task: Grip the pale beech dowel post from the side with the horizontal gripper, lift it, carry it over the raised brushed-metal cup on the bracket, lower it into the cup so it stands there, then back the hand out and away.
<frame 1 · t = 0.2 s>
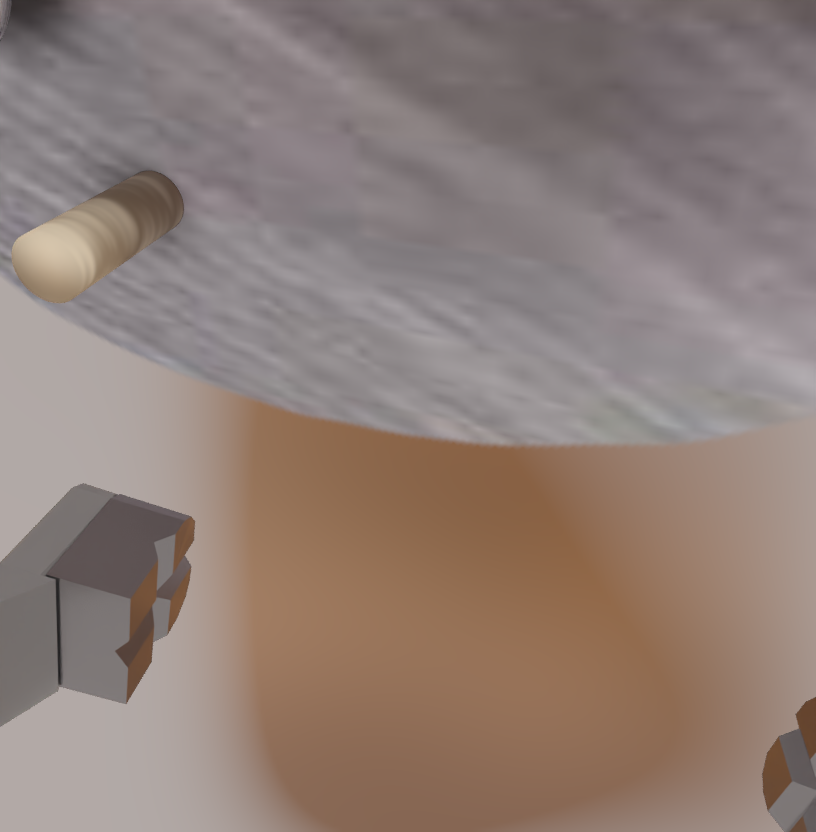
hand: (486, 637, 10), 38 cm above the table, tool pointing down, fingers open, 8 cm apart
rail post: (155, 201, 50), on the table
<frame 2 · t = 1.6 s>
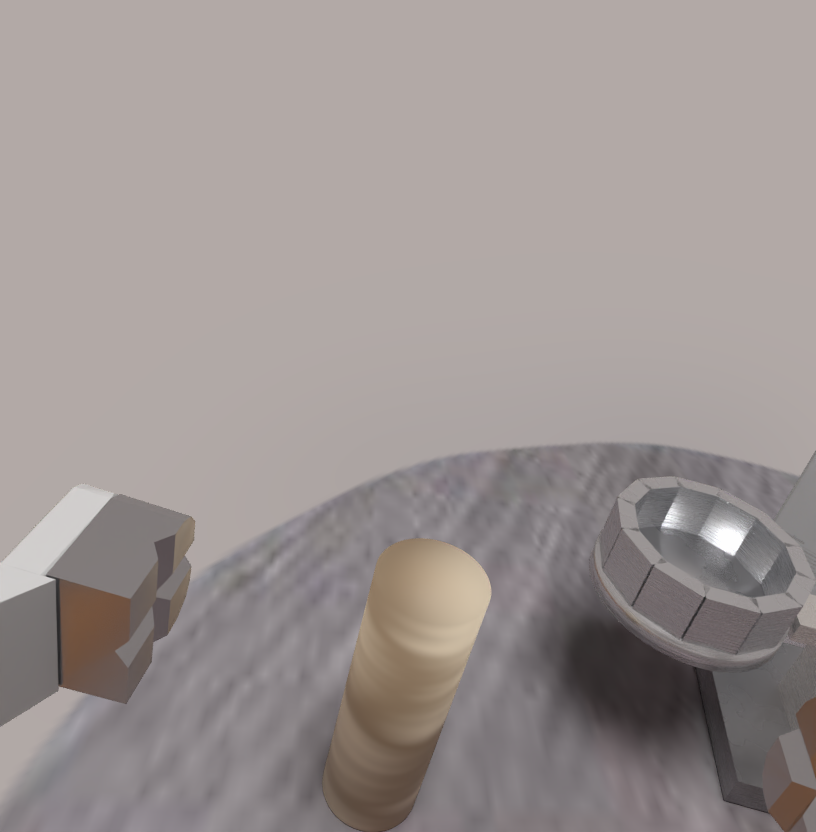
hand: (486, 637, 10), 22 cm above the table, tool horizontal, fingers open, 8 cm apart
skincare box: (776, 588, 49), on the table
cup bracket: (629, 689, 39), on the table
rail post: (369, 784, 32), on the table
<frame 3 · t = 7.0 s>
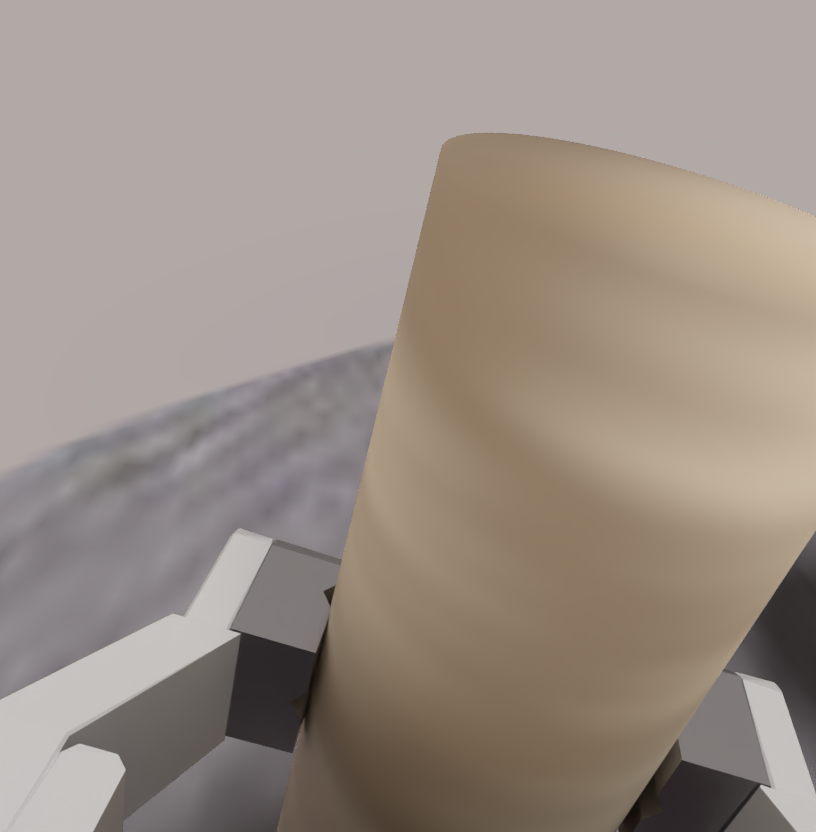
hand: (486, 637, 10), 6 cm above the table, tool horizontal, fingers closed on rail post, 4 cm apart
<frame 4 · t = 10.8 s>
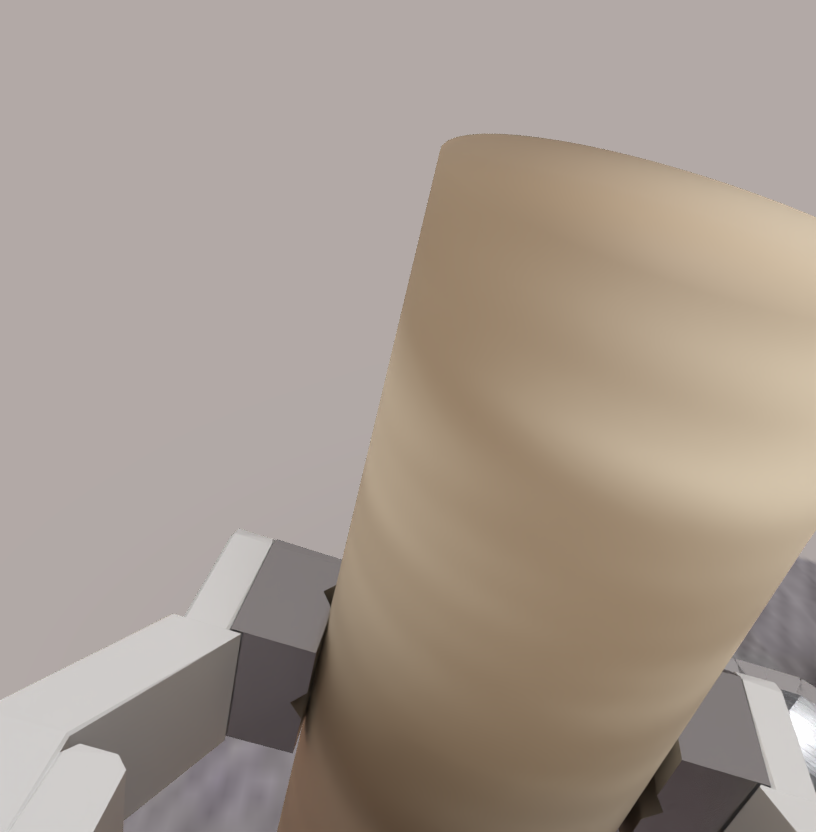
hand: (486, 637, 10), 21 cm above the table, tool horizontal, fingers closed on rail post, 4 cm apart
when the fingers open (15 cm above the table, at t = 14.5 s): rail post drops 1 cm, resting on cup bracket.
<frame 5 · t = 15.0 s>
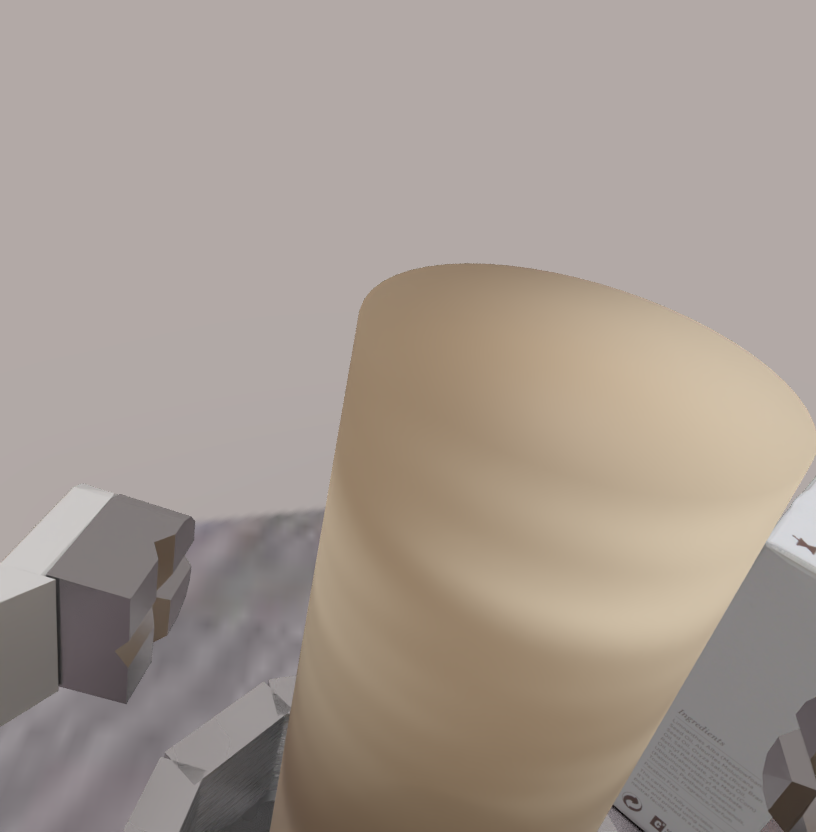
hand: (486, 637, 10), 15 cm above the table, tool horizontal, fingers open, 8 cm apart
skincare box: (685, 790, 27), on the table
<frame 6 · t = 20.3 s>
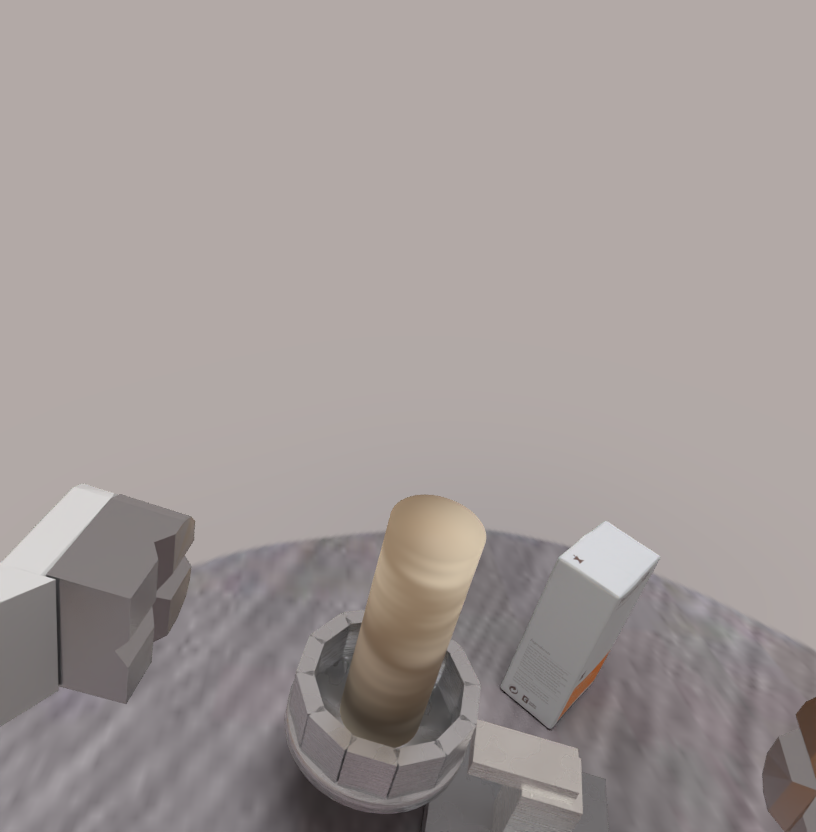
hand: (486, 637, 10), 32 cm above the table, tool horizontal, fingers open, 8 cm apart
skincare box: (547, 687, 51), on the table
cup bracket: (350, 804, 41), on the table
rail post: (380, 711, 37), point 8 cm above the table, touching cup bracket
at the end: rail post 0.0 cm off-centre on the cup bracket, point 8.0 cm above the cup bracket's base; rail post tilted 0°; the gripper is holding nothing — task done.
